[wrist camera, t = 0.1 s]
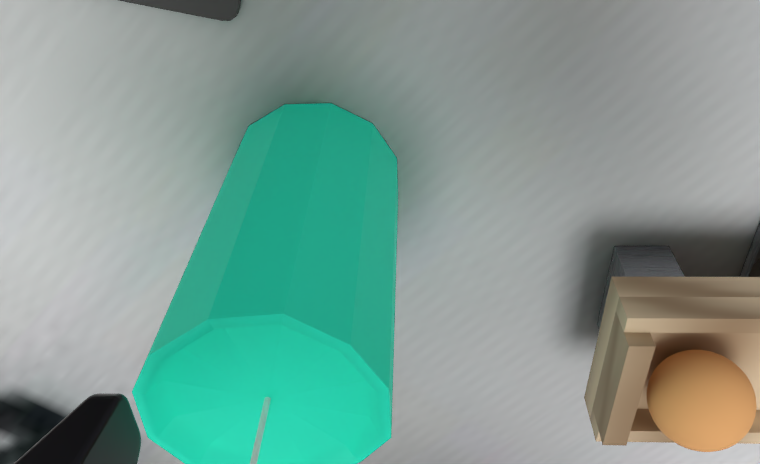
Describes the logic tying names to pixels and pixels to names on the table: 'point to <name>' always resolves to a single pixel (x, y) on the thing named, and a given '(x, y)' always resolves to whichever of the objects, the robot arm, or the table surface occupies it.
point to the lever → (667, 345)
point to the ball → (701, 400)
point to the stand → (663, 264)
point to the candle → (284, 303)
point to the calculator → (197, 7)
